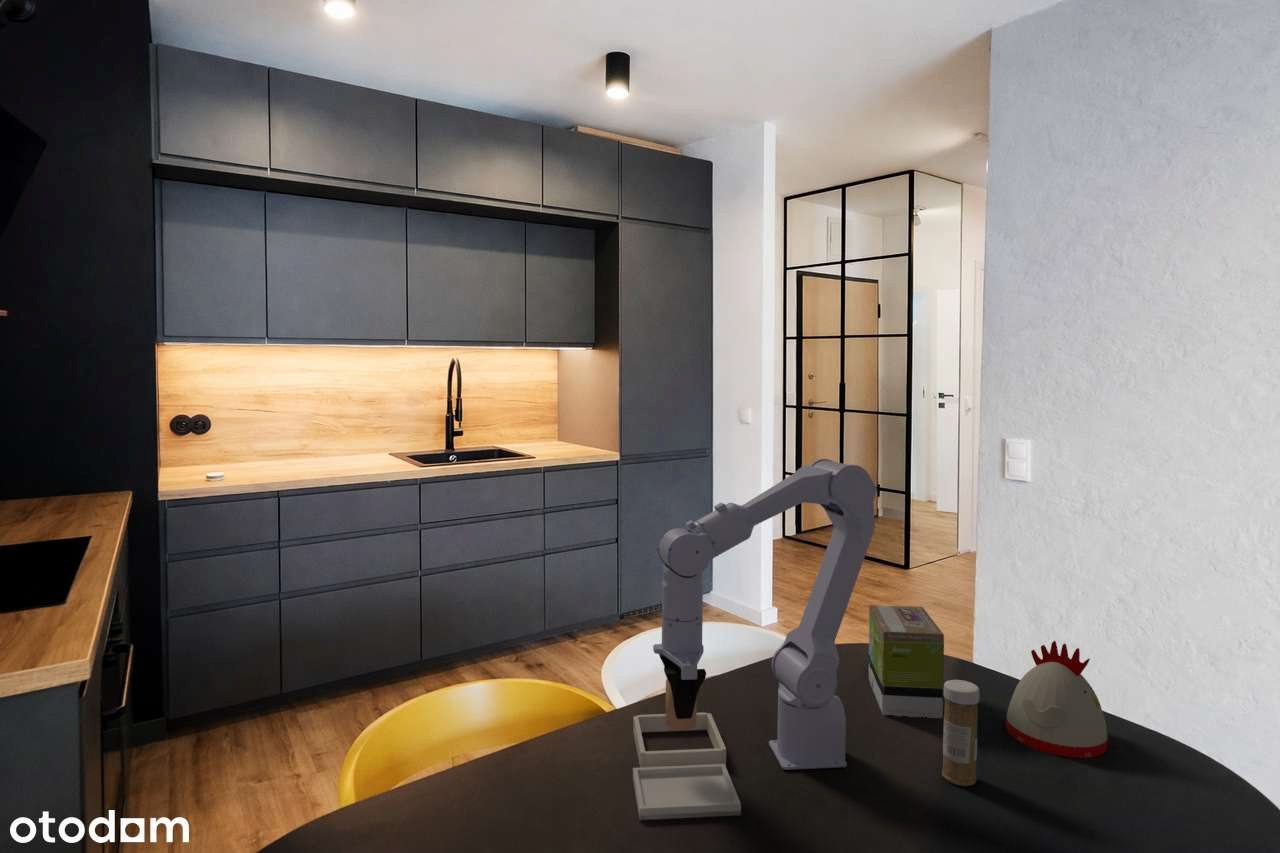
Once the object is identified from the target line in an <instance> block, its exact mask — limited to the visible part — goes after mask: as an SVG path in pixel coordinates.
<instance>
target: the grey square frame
mask: <svg viewBox="0 0 1280 853" xmlns="http://www.w3.org/2000/svg"><path fill="white" fill-rule="evenodd" d="M665 715H666V713H655V714H638V715H633V719H632V721H633V727H632V728H633V730H632V731H633V736H634V742H635V747H636V753H637V757H638V758H637V759H638V762H639V763H638V764H639V768H641V767H663V766H686V765H708V764H725V766H727V748H726V746H725V743H724V741H723V739H722V738H723V737H721V734H720V732H719V729H718V727H717V724H716V722H715V720H714V717H713V715H712V713H710V712H709V713H708V712H697V723H696V726H695V727H694V728H692V729H689V730H675V729H671V728H669V727H668V726H667V725H666V723H665ZM680 731H682V732H683V731H707V734H708V737H709V739H710V741H711V744H712V747H713V748H698V749H694V748H693V749H673V750H672V749H671V750H670V749H669V750H668V749H667V750H648V751H647V750H646V748H645V744H644V739H643V735H642V733H654V732H655V733H656V732H657V733H659V732H660V733H661V732H680Z"/></svg>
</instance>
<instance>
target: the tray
mask: <svg viewBox="0 0 1280 853" xmlns="http://www.w3.org/2000/svg"><path fill="white" fill-rule="evenodd" d="M726 766H727V765H726ZM726 766H725V764H708V765H686V766H663V767H641V768H640V767H632V781H633V783H632V784H633V787H634V795H635V802H636V807H637V812H638V820H639V821H651V820H669V819H670V820H672V819H689V818H692V819H693V818H706V817H707V818H710V817H731V816H742V803H741V801H740V798H739V795H738V793H737V790H736V788H735V786H734V783H733V781H732V778H731V776H730V774H729V772H728V769H727V767H726Z"/></svg>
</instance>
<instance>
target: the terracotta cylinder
mask: <svg viewBox="0 0 1280 853" xmlns="http://www.w3.org/2000/svg"><path fill="white" fill-rule="evenodd" d="M697 700H698V697H697V698H696V702H695V707H694V711H693V715H692V718H691V719H677V717H676V714H675V710H674V703H673V696H672V690H671V686H670V683H669V681H668V679H667V678H666V680H665V714H666V715H665V723H666V725H667V726H668V727H669V728H671V729H675V730H687V731H690V730H689V729H692V728H694V727H695V726H696V723H697V713H698V712H697V711H698V710H697V706H698V704H697V703H698V701H697Z"/></svg>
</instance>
